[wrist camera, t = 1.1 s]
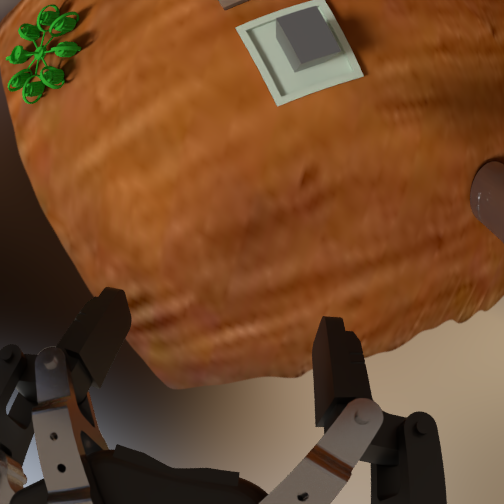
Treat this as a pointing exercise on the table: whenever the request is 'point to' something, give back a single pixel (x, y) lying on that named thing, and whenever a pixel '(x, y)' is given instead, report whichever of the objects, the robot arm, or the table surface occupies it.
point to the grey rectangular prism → (305, 38)
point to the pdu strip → (230, 3)
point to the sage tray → (278, 67)
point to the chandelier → (42, 53)
